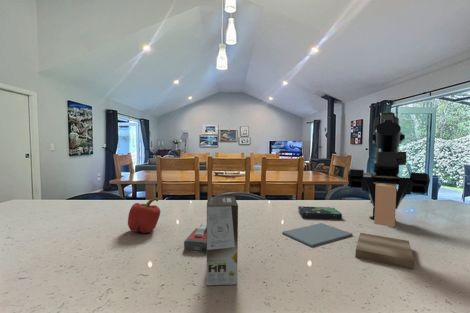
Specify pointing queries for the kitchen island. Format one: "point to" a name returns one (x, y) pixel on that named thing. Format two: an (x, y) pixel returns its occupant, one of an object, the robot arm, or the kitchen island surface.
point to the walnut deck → (385, 250)
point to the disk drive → (319, 213)
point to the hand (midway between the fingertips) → (384, 206)
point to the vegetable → (143, 216)
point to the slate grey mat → (316, 234)
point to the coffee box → (222, 240)
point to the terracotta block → (385, 204)
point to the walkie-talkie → (197, 240)
